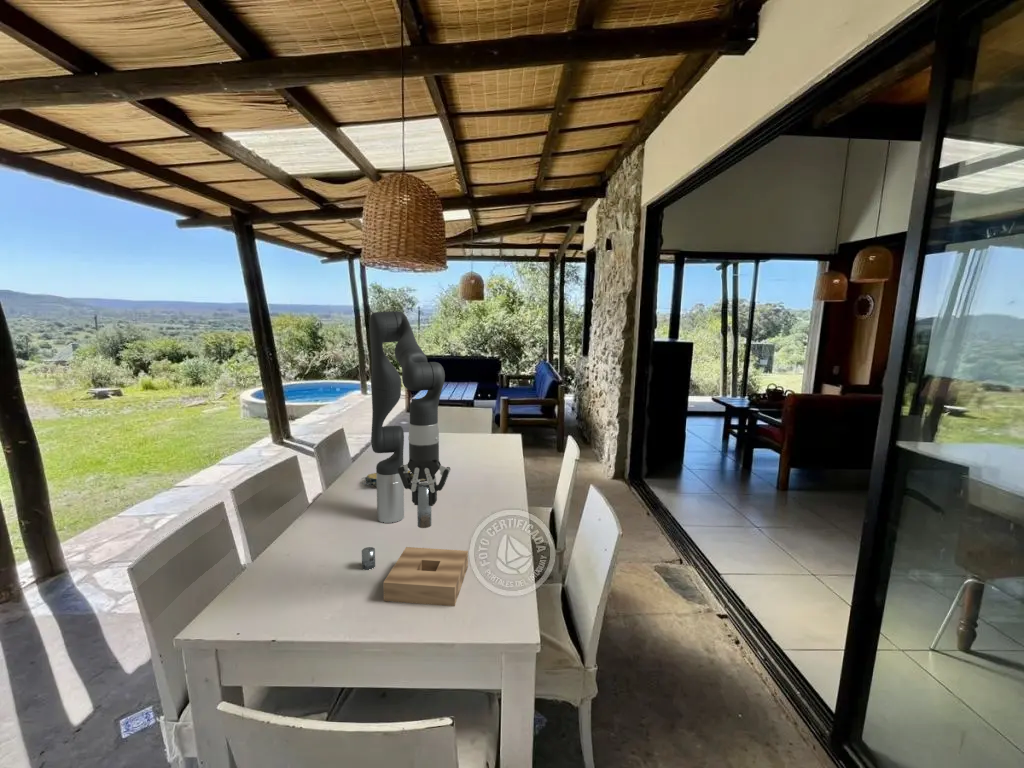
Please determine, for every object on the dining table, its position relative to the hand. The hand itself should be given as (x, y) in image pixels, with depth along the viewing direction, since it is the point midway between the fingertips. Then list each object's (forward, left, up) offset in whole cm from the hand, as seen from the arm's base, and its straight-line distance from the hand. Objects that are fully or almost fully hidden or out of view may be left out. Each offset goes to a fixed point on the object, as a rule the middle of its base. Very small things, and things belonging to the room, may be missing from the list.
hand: (424, 504), depth 117 cm
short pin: (-7, -18, -22) cm, 29 cm away
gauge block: (0, +1, -22) cm, 22 cm away
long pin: (0, 0, -6) cm, 6 cm away
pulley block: (-74, -33, -23) cm, 84 cm away
